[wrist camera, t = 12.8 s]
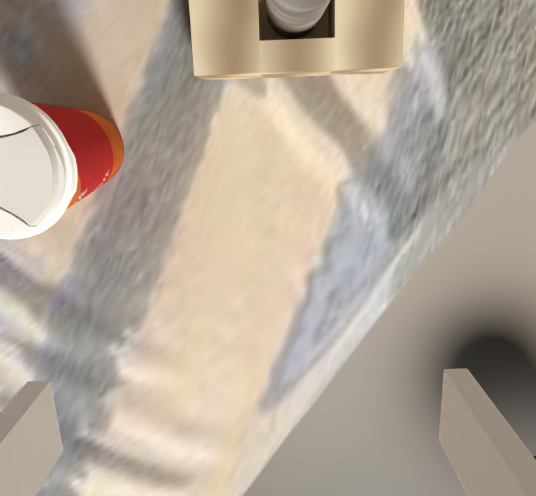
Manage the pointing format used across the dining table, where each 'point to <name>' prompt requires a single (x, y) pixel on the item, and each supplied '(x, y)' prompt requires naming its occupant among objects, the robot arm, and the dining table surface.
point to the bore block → (295, 37)
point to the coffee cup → (50, 162)
